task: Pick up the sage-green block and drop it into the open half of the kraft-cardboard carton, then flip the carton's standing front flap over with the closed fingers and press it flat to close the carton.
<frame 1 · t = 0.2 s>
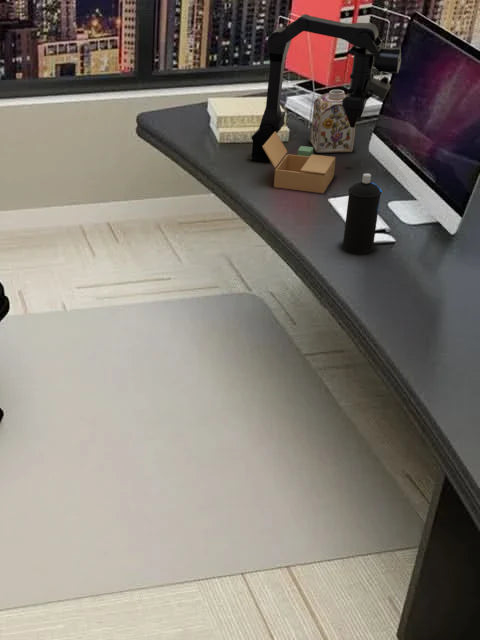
hand: (355, 122, 299), 14 cm above the table, tool pointing down, fingers open, 9 cm apart
carton: (304, 181, 300), on the table
flap: (275, 149, 298), point 9 cm above the table, hinge at 125.0°
block: (304, 161, 314), on the table
aerosol can: (357, 248, 261), on the table
decorative jar: (330, 147, 323), on the table
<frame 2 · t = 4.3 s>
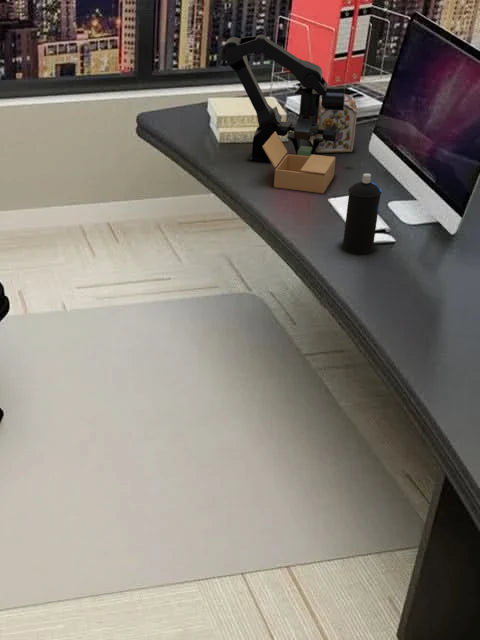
hand: (304, 157, 313), 1 cm above the table, tool pointing down, fingers closed on block, 4 cm apart
block: (304, 161, 314), on the table, touching gripper
everything else where it was.
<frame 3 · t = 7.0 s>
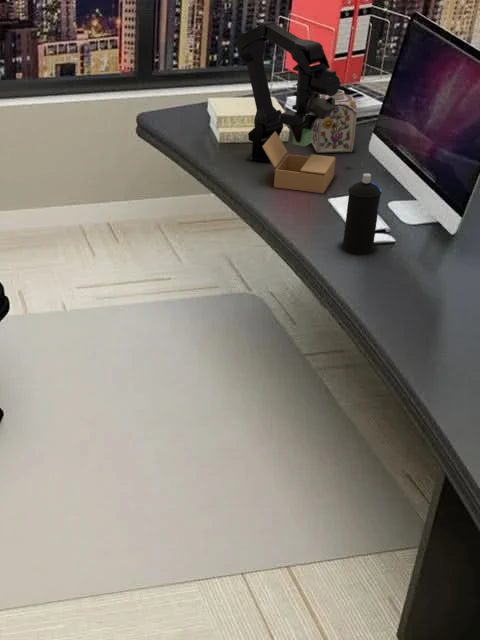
hand: (302, 140, 300), 10 cm above the table, tool pointing down, fingers closed on block, 4 cm apart
block: (302, 143, 300), point 9 cm above the table, touching gripper
everything else where it was.
when the fingers open (4 cm above the table, at t = 9.8 s): block drops 3 cm, resting on carton.
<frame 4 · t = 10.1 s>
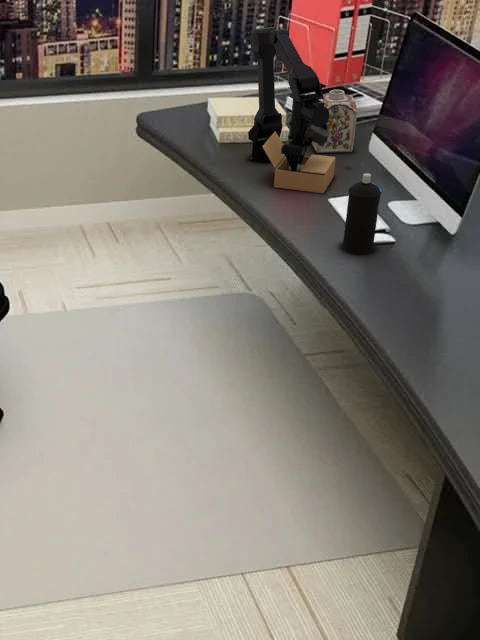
hand: (296, 168, 298), 4 cm above the table, tool pointing down, fingers open, 7 cm apart
block: (295, 179, 300), resting on carton
everything else where it was.
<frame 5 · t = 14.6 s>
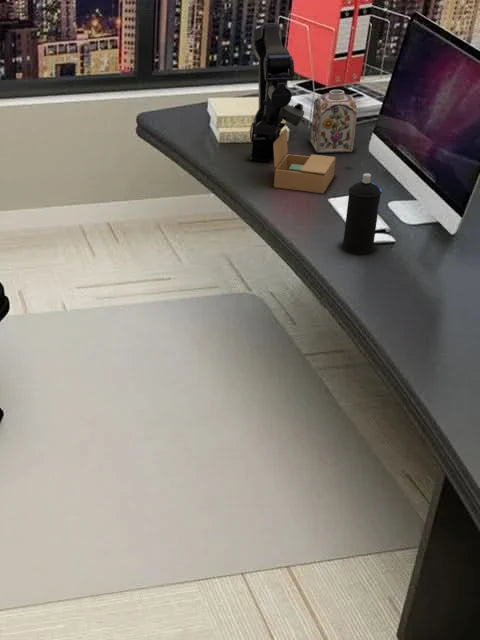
hand: (271, 148, 298), 9 cm above the table, tool pointing down, fingers closed
flap: (280, 147, 297), point 10 cm above the table, hinge at 97.5°, touching gripper
everything else where it was.
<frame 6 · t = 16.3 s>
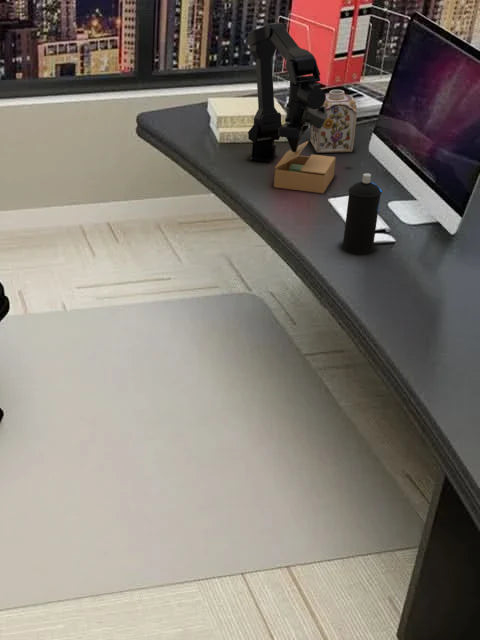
hand: (294, 151, 296), 9 cm above the table, tool pointing down, fingers closed
flap: (291, 154, 297), point 8 cm above the table, hinge at 33.9°, touching gripper
everything else where it was.
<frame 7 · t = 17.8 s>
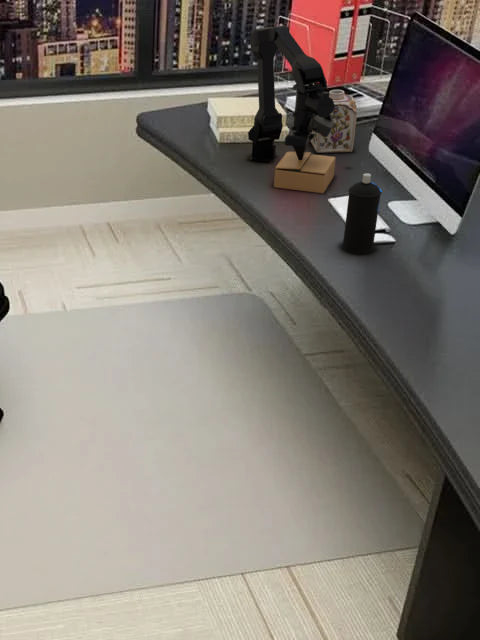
hand: (300, 159, 296), 7 cm above the table, tool pointing down, fingers closed, pressing on flap
flap: (293, 160, 297), point 6 cm above the table, hinge at 4.7°, touching gripper
everything else where it was.
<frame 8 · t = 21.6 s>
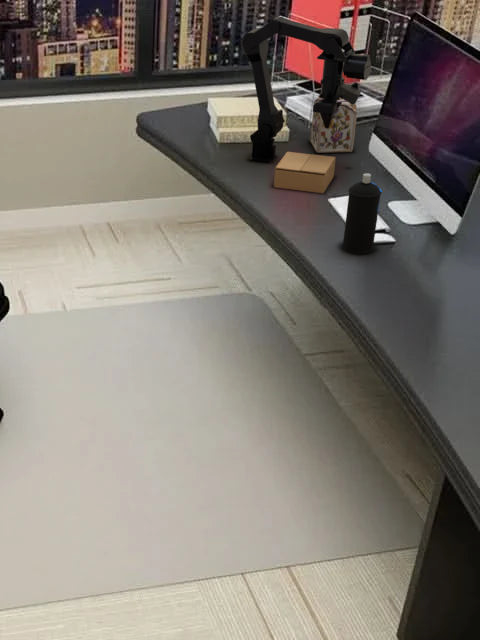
hand: (327, 127, 300), 13 cm above the table, tool pointing down, fingers closed
flap: (293, 161, 298), point 6 cm above the table, hinge at -0.5°
everything else where it was.
at the end: block inside the target area in the carton (2.5 cm from its centre), point 0.4 cm above the carton's base; flap at +0° (first picture: +125°) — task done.
